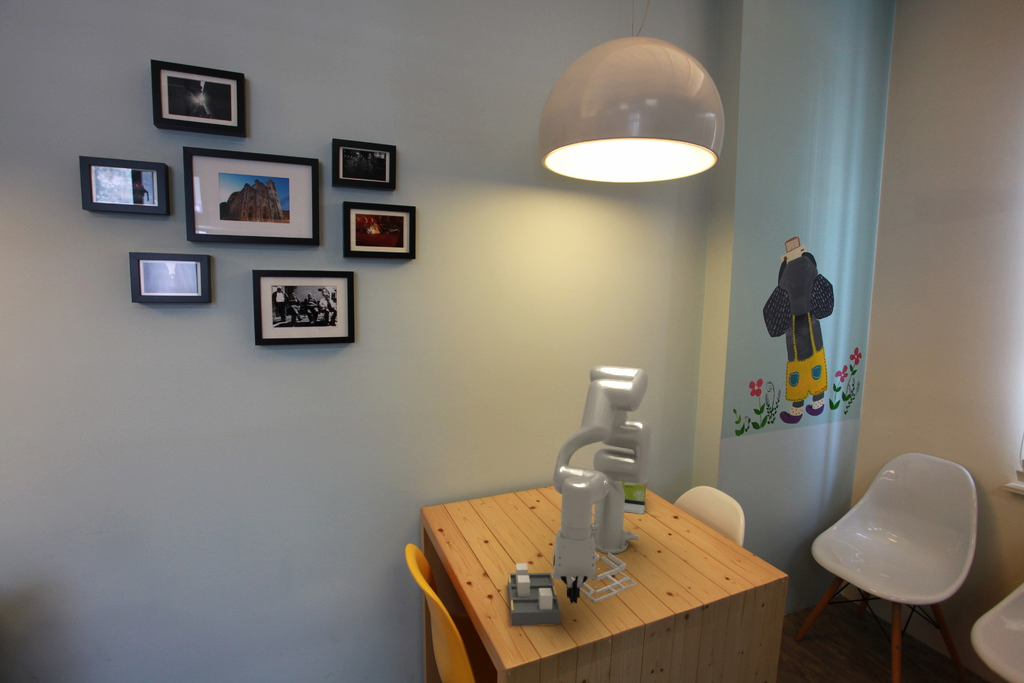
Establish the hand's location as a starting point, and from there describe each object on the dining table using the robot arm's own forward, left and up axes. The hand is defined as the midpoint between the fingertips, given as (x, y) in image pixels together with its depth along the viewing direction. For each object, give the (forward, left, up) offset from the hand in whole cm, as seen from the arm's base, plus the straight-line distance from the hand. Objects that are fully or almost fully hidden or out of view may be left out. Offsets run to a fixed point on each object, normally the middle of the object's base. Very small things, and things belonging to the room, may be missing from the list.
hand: (572, 599), depth 114 cm
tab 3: (+7, 0, -2) cm, 7 cm away
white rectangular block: (+12, -11, -2) cm, 17 cm away
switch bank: (+9, -6, -5) cm, 12 cm away
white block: (+12, -6, -2) cm, 13 cm away
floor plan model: (-10, -21, -6) cm, 24 cm away
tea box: (-33, -62, -5) cm, 70 cm away
